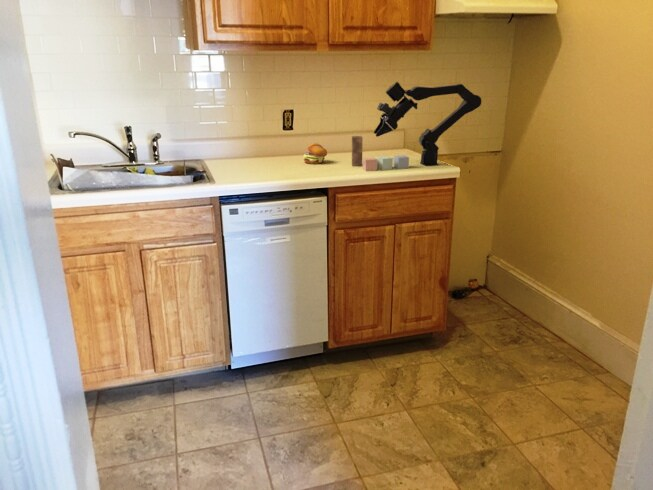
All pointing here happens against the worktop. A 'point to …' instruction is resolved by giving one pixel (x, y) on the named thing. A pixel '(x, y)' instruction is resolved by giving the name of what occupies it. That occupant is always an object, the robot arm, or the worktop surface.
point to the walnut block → (357, 150)
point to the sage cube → (384, 163)
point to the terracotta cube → (370, 164)
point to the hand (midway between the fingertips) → (375, 134)
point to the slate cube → (401, 162)
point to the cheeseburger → (315, 154)
